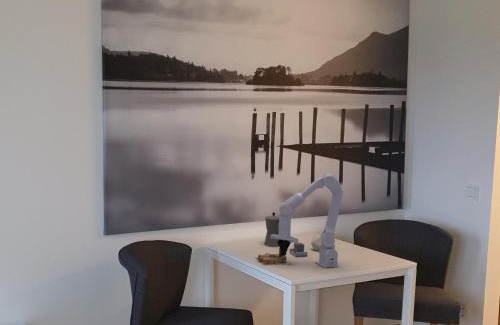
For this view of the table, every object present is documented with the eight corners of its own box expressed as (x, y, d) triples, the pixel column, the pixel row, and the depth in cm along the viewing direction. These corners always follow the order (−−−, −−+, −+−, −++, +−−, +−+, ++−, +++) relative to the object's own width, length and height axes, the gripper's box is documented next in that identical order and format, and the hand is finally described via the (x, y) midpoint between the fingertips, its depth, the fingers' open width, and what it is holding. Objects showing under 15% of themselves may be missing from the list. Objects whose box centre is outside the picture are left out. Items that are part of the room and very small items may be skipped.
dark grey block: (303, 254, 290) (304, 244, 289) (296, 254, 289) (297, 244, 288) (300, 252, 294) (301, 242, 293) (293, 252, 292) (294, 243, 292)
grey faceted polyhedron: (322, 254, 297) (332, 238, 299) (308, 245, 298) (318, 229, 301) (320, 256, 305) (329, 240, 307) (306, 247, 306) (315, 232, 308)
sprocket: (291, 263, 274) (291, 251, 273) (263, 264, 269) (263, 253, 269) (280, 255, 288) (280, 244, 287) (253, 257, 283) (253, 246, 282)
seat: (307, 256, 288) (307, 252, 288) (296, 257, 286) (296, 252, 286) (300, 252, 297) (300, 247, 297) (289, 252, 295) (289, 248, 295)
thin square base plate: (289, 263, 274) (289, 263, 274) (264, 265, 270) (264, 264, 270) (279, 256, 287) (279, 255, 287) (254, 257, 283) (254, 257, 283)
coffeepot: (259, 243, 315) (260, 210, 313) (273, 241, 320) (274, 209, 318) (273, 249, 302) (274, 215, 300) (288, 247, 306) (289, 214, 305)
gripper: (301, 228, 274) (300, 256, 275) (276, 224, 282) (275, 251, 283) (294, 230, 268) (293, 259, 269) (268, 226, 276) (267, 254, 278)
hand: (283, 255), depth 276 cm, fingers closed
